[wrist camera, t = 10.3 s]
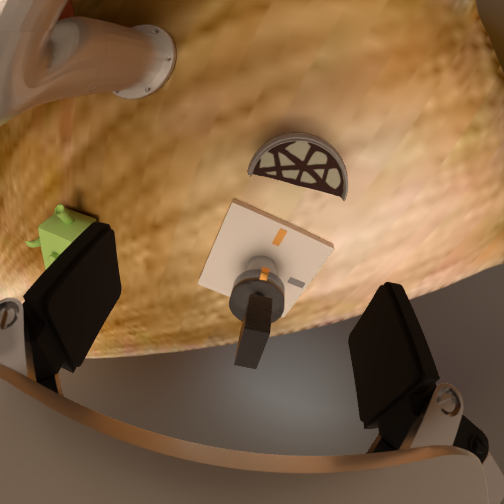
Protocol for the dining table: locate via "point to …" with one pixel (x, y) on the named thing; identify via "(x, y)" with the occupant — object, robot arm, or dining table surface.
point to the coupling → (255, 312)
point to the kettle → (59, 232)
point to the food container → (302, 163)
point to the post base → (263, 252)
